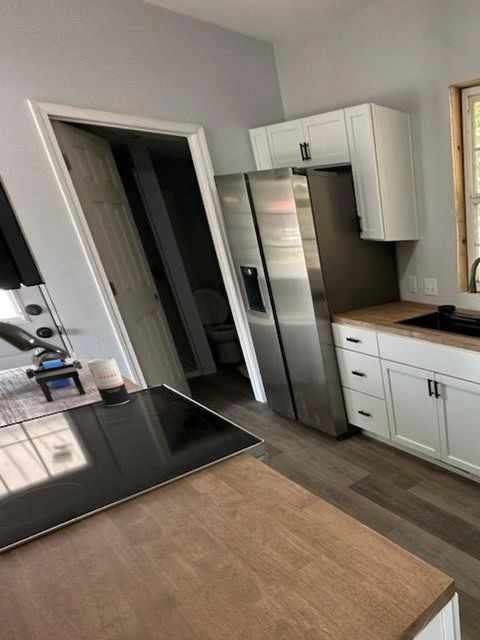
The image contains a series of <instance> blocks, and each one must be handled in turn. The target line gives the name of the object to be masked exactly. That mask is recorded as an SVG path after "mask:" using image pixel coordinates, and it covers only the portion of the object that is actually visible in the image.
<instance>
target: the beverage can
mask: <svg viewBox="0 0 480 640" xmlns="http://www.w3.org/2000/svg"><path fill="white" fill-rule="evenodd" d="M87 367H88V370H89V373H90V374H91V377H92V379H93V382H94V384H95V386H96V389H97V392H98V394H99V395H100V396H99V397H100V398H101V400H102V401H101V402H102V403H103V405H104V406H106V407H115V406H119V405H123V404H126V403H128V402H130V400H131V396H130V394H129V392H128V389H127V387H126V385H125V381H124V379H123V377H122V374H121V372H120V368H119V366H118V364H117V361H116V359H115V358H114V357H113V356H107V357H99V358H94V359H91V360H87ZM129 399H130V400H129Z"/></svg>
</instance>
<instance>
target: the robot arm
mask: <svg viewBox="0 0 480 640" xmlns="http://www.w3.org/2000/svg"><path fill="white" fill-rule="evenodd" d="M0 340H2V341H3V342H5V343H7V344H8V345H10V346H11V347H13V348H15V349H16V350H18V351H20V352H22V353H27V352H30V351H32V350H35V349H42V350H41V351H39V352H38V353H36V354H35V355H34V356H33V357H32V358H31V363H32V364H33V365H34V366H35V367H37V368H36V369H34V368H27V369H25V374H26V376H27V378H28V379H33V378H35V374H34V371H35V370H40V369H45V368H44V366H43V364H42V362H46V361H52V360H58V359H60V361H61V363H62V365H68V364H73V365H74V367H75V368H76V370H77V369H78V370H82V369H83V365H82V364H81V361H79V360H78V359H77V360H76V359H75V360H73V361H72V362H70V363H69V362H67V361H66V360H67V359H68V357H69V353H68V352H67V350H66V349H64V348H62V347H60V346H57V345H54V344H51V343H49V342H46V341H44V340H42V339H40V338H38V337H36V336H34V335H33V334H32V333H30V332H28V331H27V330H26V329H23V328H22V327H21V326H18V325H17V324H13V323H9V322H5V321H0Z"/></svg>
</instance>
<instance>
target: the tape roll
mask: <svg viewBox="0 0 480 640" xmlns="http://www.w3.org/2000/svg"><path fill="white" fill-rule="evenodd" d="M42 364H43V366H44V368H45V369H46V368H51V367H57V366H62V363H61V361H60V359H58V360H52V361H46V362H42ZM50 384H51V386H52V388H53V389H57V388H61V387H66V386H67V387H68V386H72V384H71V381H70V378H67V379H62V380H57V381H52V382H50Z"/></svg>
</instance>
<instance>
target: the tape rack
mask: <svg viewBox="0 0 480 640" xmlns="http://www.w3.org/2000/svg"><path fill="white" fill-rule="evenodd" d="M34 370H35V371H34V374H35V376H34V378H35V381H36V384H37V385H39V387H40V389H41V391H42V393H43V395H44V397H45V400H46V402H47V403H51V402H54V398H53V396H52V392H51V389H50V388H49V385H48V383H51V382H52V381H57V380H62V379H67V378H68V379H71V378H72V380H73V384H74V385H75V388H77V391H78V393H79V395H80V396H83V395H86V394H87V393H86V391H85V389H84V386H83V384H82V382H81V379H80V374H79V372H78V370H77V369H76V368H75V367H74V365H73V364H70V363H69V364H68V365H62V366H57V367H51V368H46V369H40V370H37V369H34Z"/></svg>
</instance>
